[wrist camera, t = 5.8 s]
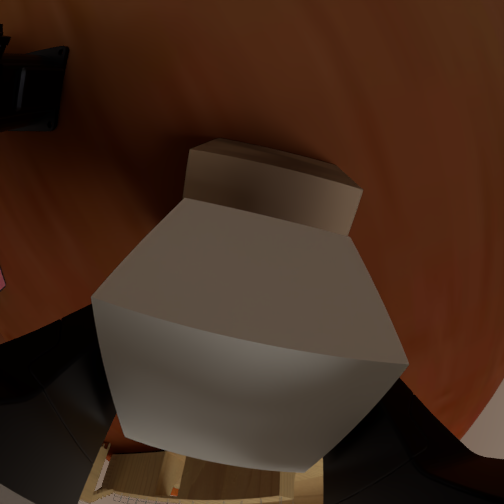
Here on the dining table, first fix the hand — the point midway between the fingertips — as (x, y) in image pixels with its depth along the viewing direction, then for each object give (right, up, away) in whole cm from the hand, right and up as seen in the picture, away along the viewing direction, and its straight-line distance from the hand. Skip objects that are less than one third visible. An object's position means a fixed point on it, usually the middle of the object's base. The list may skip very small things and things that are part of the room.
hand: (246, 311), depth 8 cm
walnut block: (+1, +5, +9) cm, 10 cm away
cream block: (0, +1, +1) cm, 1 cm away
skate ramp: (-5, -36, +31) cm, 48 cm away
